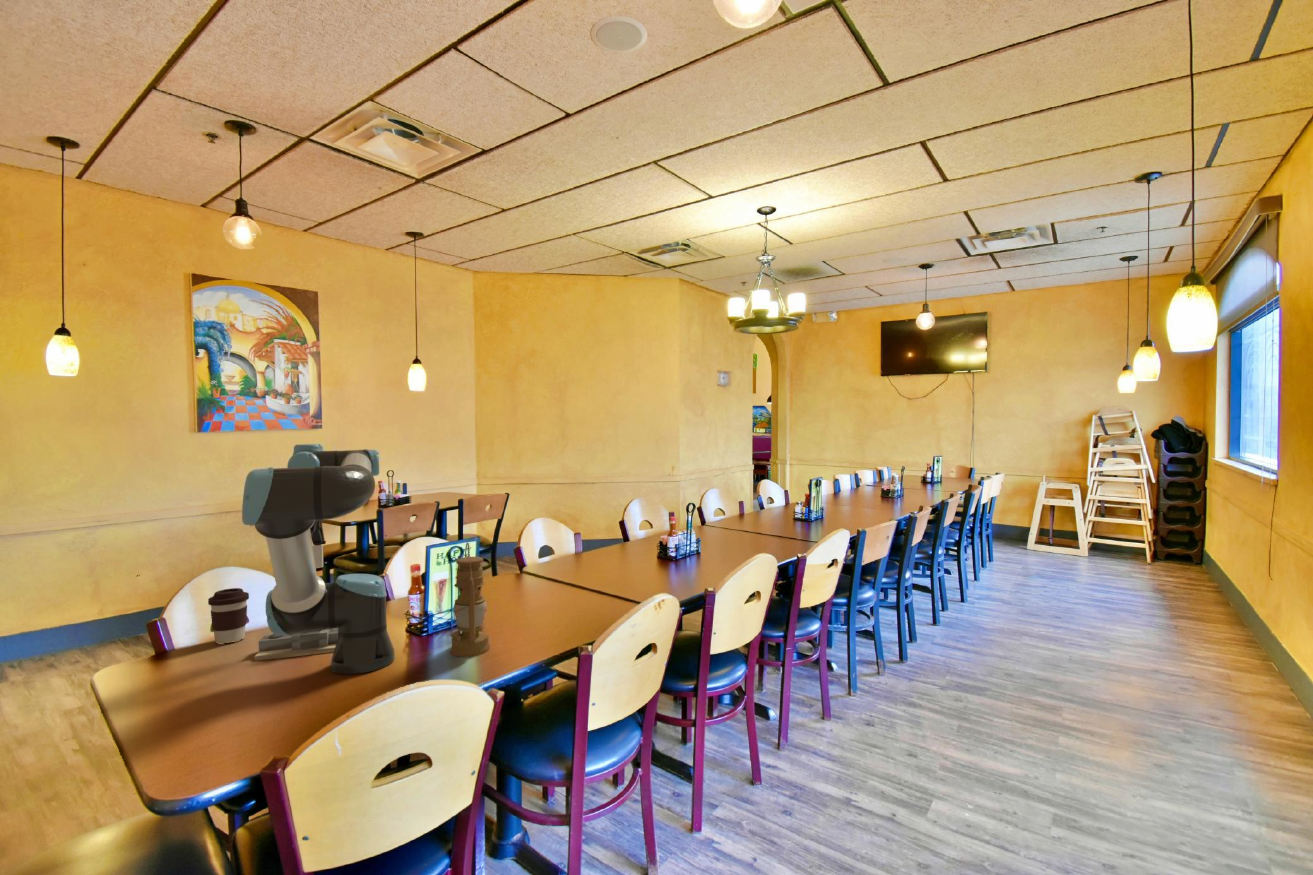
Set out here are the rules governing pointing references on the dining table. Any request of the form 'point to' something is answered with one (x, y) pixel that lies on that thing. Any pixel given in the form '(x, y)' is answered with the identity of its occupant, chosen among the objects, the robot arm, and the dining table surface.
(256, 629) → the dining table surface
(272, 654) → the chain bed
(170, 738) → the dining table surface
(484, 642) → the lantern
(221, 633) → the coffee cup
